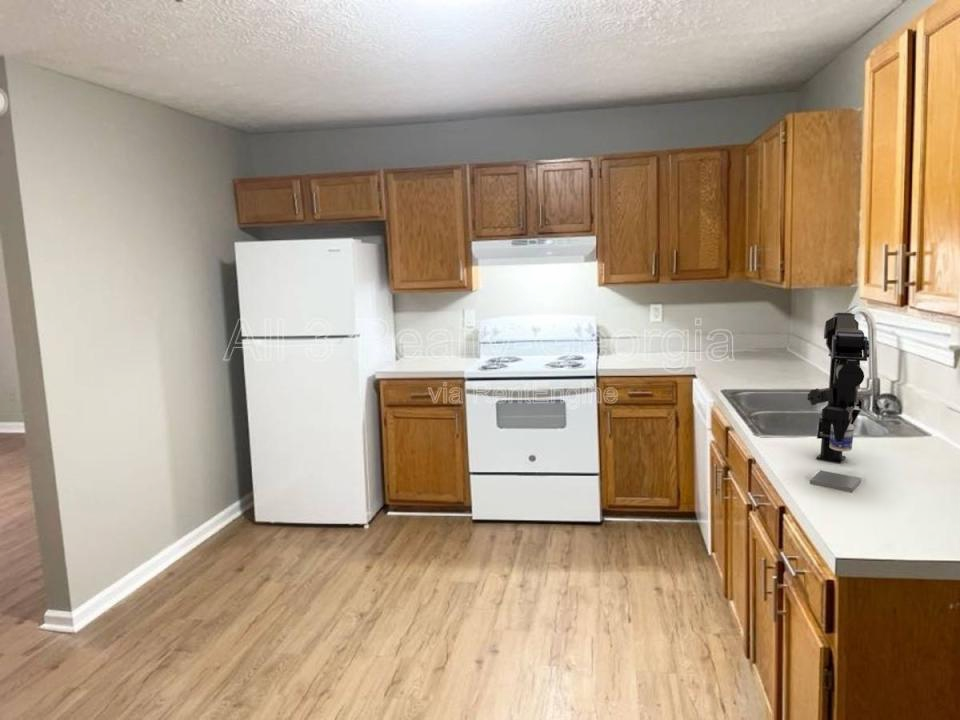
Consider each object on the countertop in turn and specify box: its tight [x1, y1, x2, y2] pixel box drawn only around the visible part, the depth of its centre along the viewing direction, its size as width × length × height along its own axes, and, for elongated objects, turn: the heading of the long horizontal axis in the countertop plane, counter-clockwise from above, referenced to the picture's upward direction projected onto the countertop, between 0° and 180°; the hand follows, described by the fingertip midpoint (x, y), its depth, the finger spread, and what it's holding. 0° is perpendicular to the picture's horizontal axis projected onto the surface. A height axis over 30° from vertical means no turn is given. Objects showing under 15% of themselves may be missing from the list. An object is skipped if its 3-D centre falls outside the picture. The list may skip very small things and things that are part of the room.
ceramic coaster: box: [809, 470, 862, 494], centre depth 186 cm, size 10×10×1 cm
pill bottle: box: [829, 416, 855, 452], centre depth 183 cm, size 5×5×9 cm
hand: (841, 439), depth 184 cm, fingers closed on pill bottle, 5 cm apart
